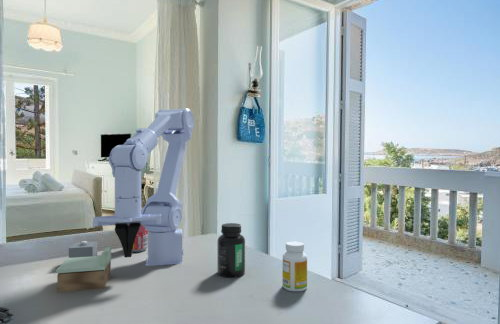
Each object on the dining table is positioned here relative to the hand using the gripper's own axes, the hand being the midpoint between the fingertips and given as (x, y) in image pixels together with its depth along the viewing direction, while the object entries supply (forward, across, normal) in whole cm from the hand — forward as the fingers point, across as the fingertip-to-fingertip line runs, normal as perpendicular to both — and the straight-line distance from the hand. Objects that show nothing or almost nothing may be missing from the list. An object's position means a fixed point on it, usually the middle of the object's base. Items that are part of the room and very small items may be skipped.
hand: (128, 256), depth 74 cm
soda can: (+6, -1, +27) cm, 28 cm away
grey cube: (+6, -13, +15) cm, 21 cm away
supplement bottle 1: (+6, +24, 0) cm, 25 cm away
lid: (+1, -9, 0) cm, 9 cm away
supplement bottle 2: (+6, +36, -12) cm, 39 cm away
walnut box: (+6, -9, 0) cm, 11 cm away
